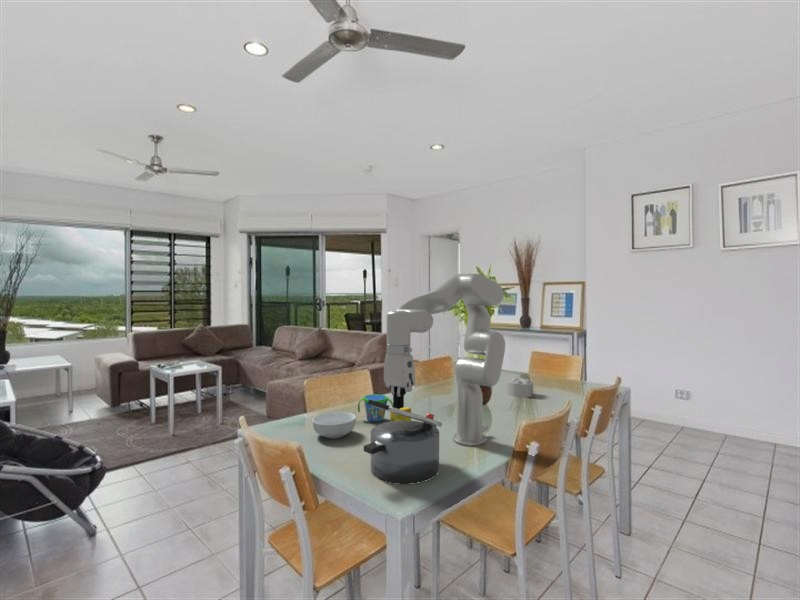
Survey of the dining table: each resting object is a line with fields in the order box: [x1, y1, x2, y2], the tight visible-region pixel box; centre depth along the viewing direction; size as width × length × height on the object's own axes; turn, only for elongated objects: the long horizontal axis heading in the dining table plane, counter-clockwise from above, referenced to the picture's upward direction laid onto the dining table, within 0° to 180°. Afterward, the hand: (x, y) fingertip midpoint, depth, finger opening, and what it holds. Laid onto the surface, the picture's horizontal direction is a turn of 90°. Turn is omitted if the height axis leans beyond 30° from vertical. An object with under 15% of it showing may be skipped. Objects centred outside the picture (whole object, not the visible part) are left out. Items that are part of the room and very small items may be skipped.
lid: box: [368, 400, 443, 427], centre depth 134 cm, size 29×23×3 cm
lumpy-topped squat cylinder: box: [507, 377, 534, 399], centre depth 226 cm, size 10×13×9 cm
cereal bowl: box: [312, 411, 357, 440], centre depth 165 cm, size 17×17×7 cm
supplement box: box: [389, 405, 412, 422], centre depth 165 cm, size 6×6×11 cm
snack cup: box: [357, 393, 393, 423], centre depth 184 cm, size 16×10×10 cm
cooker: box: [363, 420, 440, 485], centre depth 134 cm, size 29×22×12 cm
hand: (398, 407), depth 132 cm, fingers closed
